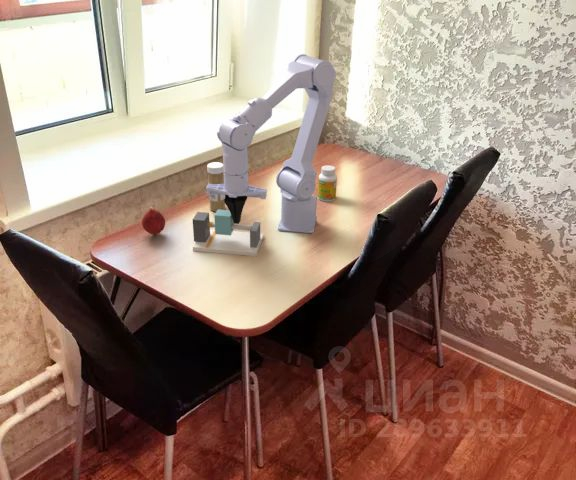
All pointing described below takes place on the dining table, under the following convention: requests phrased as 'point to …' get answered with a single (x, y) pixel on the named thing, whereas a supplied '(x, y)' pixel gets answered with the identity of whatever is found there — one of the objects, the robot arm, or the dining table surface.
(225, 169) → the robot arm
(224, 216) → the sleeve
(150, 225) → the onion
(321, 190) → the supplement bottle
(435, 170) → the dining table surface
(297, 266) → the dining table surface
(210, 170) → the sprinkles bottle
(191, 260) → the dining table surface
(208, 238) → the sliding block rail
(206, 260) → the dining table surface
